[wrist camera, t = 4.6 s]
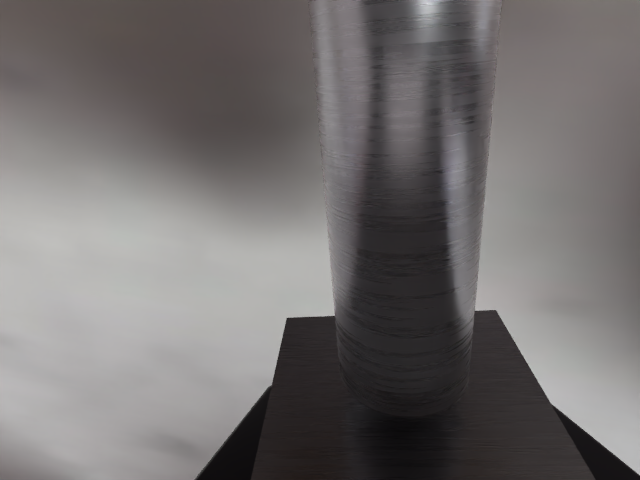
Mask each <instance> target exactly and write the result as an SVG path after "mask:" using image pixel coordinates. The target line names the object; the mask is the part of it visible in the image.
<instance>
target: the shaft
mask: <svg viewBox="0 0 640 480" xmlns="http://www.w3.org/2000/svg"><path fill="white" fill-rule="evenodd" d="M501 4H502V0H309V11H310V23H311V35H312V47H313V59H314V71H315V83H316V95H317V107H318V119H319V131H320V143H321V155H322V167H323V179H324V190H325V202H326V214H327V226H328V238H329V250H330V262H331V274H332V286H333V298H334V310H335V316H325V317H298V318H287V320H286V324H285V329H284V333H283V338H282V342H281V347H280V351H279V356H278V360H277V365H276V369H275V374H274V378H273V383H272V387H271V391H270V396H269V400H268V405H267V409H266V414H265V418H264V423H263V427H262V432H261V436H260V441H259V445H258V450H257V454H256V459H255V463H254V468H253V472H252V476H251V480H595V478H594V476H593V475H592V473H591V471H590V469H589V468H588V466H587V464H586V463H585V461H584V459H583V458H582V456H581V454H580V452H579V451H578V449H577V447H576V446H575V444H574V442H573V441H572V439H571V437H570V435H569V434H568V432H567V430H566V429H565V427H564V425H563V424H562V422H561V420H560V418H559V417H558V415H557V413H556V412H555V410H554V408H553V407H552V405H551V403H550V401H549V400H548V398H547V396H546V395H545V393H544V391H543V390H542V388H541V386H540V384H539V383H538V381H537V379H536V378H535V376H534V374H533V373H532V371H531V369H530V367H529V366H528V364H527V362H526V361H525V359H524V357H523V356H522V354H521V352H520V350H519V349H518V347H517V345H516V344H515V342H514V340H513V339H512V337H511V335H510V333H509V332H508V330H507V328H506V327H505V325H504V323H503V322H502V320H501V318H500V316H499V315H498V313H497V311H496V310H489V311H475V302H476V290H477V279H478V268H479V256H480V245H481V233H482V222H483V210H484V199H485V187H486V176H487V164H488V153H489V142H490V130H491V119H492V107H493V96H494V84H495V73H496V61H497V50H498V39H499V27H500V16H501Z"/></svg>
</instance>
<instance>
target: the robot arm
mask: <svg viewBox="0 0 640 480" xmlns="http://www.w3.org/2000/svg"><path fill="white" fill-rule="evenodd" d="M271 387H272V385H271V386H269V387H268V388H267V390H266V391H265V392H264V393H263V395H262V396H261V397H260V398H259V400H258V401H257V402H256V403H255V405H254V406H253V407H252V408H251V410H250V411H249V412H248V413H247V415H246V416H245V417H244V418H243V420H242V421H241V422H240V423H239V425H238V426H237V427H236V429H235V430H234V431H233V432H232V434H231V435H230V436H229V437H228V439H227V440H226V441H225V442H224V444H223V445H222V446H221V447H220V449H219V450H218V451H217V452H216V454H215V455H214V456H213V457H212V459H211V460H210V461H209V462H208V464H207V465H206V466H205V467H204V469H203V470H202V471H201V472H200V474H199V475H198V476H197V477H196V479H195V480H251V476H252V472H253V468H254V463H255V459H256V454H257V450H258V445H259V441H260V436H261V432H262V427H263V423H264V418H265V414H266V409H267V405H268V400H269V396H270V391H271ZM551 405H552V404H551ZM552 407H553V408H554V410H555V412H556V413H557V415H558V417H559V418H560V420H561V422H562V424H563V425H564V427H565V429H566V430H567V432H568V434H569V435H570V437H571V439H572V441H573V442H574V444H575V446H576V447H577V449H578V451H579V452H580V454H581V456H582V458H583V459H584V461H585V463H586V464H587V466H588V468H589V469H590V471H591V473H592V475H593V476H594V478H595V480H640V475H639V474H637V473H636V472H635V471H634V470H632V469H631V468H630V467H629V466H627V465H626V464H625V463H624V462H622V461H621V460H620V459H619V458H618V457H616V456H615V455H614V454H613V453H611V452H610V451H609V450H608V449H606V448H605V447H604V446H603V445H601V444H600V443H599V442H598V441H596V440H595V439H594V438H593V437H592V436H590V435H589V434H588V433H587V432H585V431H584V430H583V429H582V428H580V427H579V426H578V425H577V424H575V423H574V422H573V421H572V420H571V419H569V418H568V417H567V416H566V415H564V414H563V413H562V412H561V411H559V410H558V409H557V408H556V407H554V406H553V405H552Z"/></svg>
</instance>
